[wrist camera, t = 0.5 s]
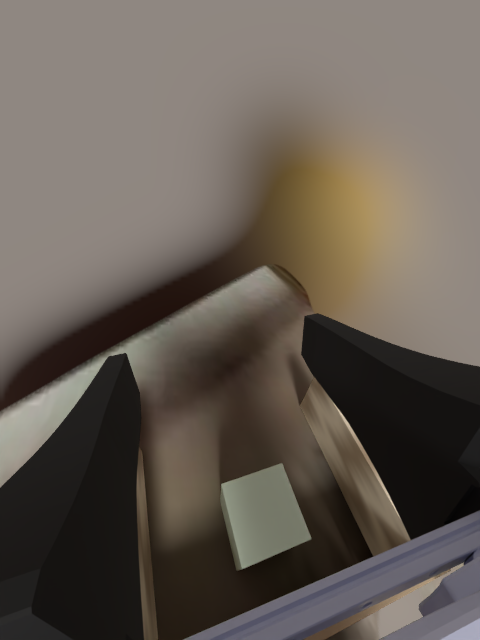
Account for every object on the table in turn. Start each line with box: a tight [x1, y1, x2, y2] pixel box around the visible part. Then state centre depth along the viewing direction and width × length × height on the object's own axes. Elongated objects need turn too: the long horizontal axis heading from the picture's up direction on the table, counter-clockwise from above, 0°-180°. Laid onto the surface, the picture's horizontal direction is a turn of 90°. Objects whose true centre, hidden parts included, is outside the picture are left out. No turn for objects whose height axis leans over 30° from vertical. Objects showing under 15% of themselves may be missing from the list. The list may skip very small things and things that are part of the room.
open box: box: [137, 377, 451, 640], centre depth 20 cm, size 14×18×6 cm
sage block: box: [220, 463, 311, 571], centre depth 20 cm, size 4×4×6 cm
